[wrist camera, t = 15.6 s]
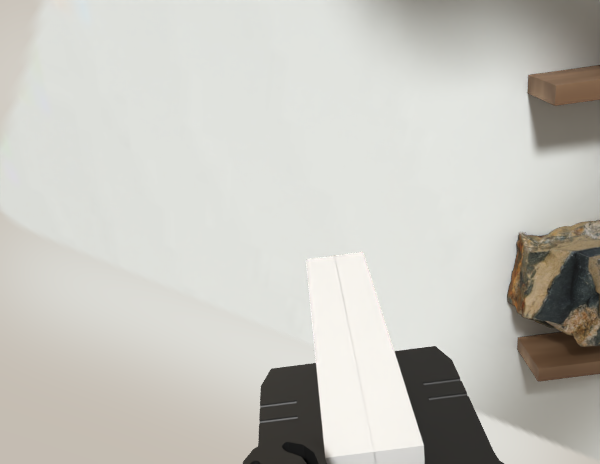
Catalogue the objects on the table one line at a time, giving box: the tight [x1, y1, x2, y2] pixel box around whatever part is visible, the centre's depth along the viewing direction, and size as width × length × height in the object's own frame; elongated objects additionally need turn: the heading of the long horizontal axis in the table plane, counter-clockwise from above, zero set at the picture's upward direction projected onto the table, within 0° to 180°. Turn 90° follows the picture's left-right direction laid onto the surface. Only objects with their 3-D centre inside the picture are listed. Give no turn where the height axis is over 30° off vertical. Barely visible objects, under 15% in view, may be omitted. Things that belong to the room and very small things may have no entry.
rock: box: [507, 220, 600, 347], centre depth 41 cm, size 9×9×6 cm
